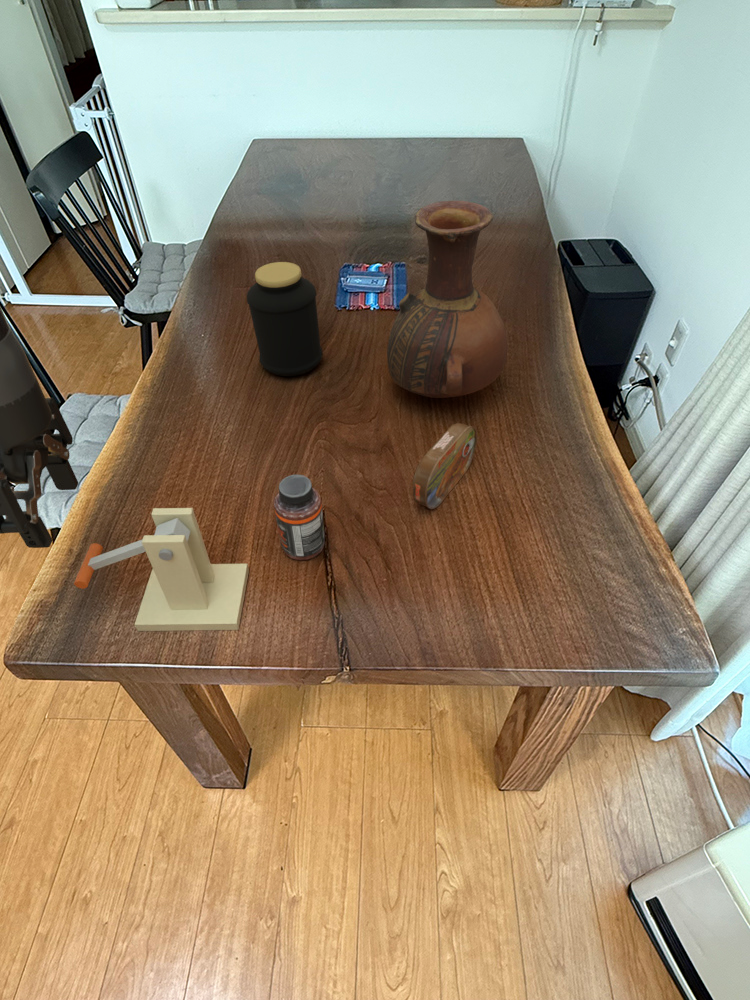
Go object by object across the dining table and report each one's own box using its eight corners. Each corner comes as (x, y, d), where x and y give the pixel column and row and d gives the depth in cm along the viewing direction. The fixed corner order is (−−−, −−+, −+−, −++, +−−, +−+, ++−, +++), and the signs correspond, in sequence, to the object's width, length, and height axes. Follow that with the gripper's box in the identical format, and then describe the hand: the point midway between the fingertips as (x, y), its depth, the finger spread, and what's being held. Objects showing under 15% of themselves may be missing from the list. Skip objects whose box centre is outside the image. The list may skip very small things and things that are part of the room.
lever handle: (83, 592, 68) (67, 580, 67) (99, 554, 72) (84, 542, 71) (183, 557, 64) (168, 544, 62) (194, 519, 68) (180, 506, 66)
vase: (378, 358, 113) (377, 187, 92) (480, 350, 115) (503, 181, 93) (398, 440, 96) (402, 254, 74) (518, 430, 97) (556, 244, 76)
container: (244, 369, 111) (226, 274, 98) (288, 341, 117) (276, 249, 105) (294, 391, 106) (282, 294, 93) (336, 360, 112) (330, 267, 100)
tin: (426, 520, 83) (430, 476, 77) (407, 511, 84) (409, 467, 79) (476, 461, 92) (482, 417, 86) (457, 453, 93) (463, 410, 87)
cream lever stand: (137, 631, 71) (98, 557, 61) (156, 571, 77) (124, 495, 68) (238, 630, 71) (215, 556, 61) (249, 570, 77) (230, 494, 68)
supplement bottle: (275, 537, 81) (263, 476, 73) (316, 523, 83) (309, 462, 75) (289, 568, 77) (279, 507, 69) (332, 553, 79) (327, 492, 71)
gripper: (-22, 344, 57) (43, 472, 68) (-100, 435, 47) (-9, 568, 58) (58, 342, 57) (109, 470, 68) (-2, 432, 47) (70, 565, 58)
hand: (55, 515), depth 63 cm, fingers open, 8 cm apart
